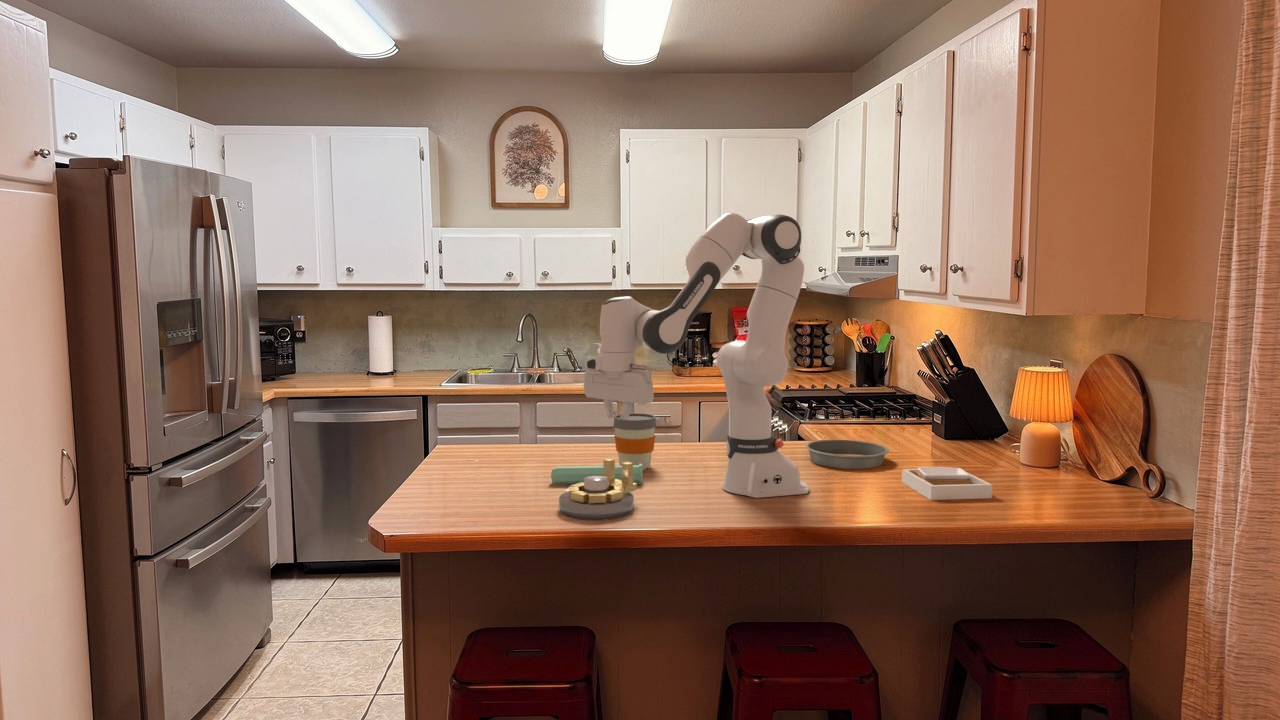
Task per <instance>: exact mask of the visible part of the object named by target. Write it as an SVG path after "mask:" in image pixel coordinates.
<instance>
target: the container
mask: <svg viewBox="0 0 1280 720" xmlns="http://www.w3.org/2000/svg"><path fill="white" fill-rule="evenodd" d="M643 471H644V470H642V464H639V465H633V483H637V485H639V484H644V480H643V478H644V477H643V476H644V475H643ZM550 472H551V473H550V479H551V482H552V483H551V484H553V485H574V484H577V483H581V482H584V478H586V477H589V476H604V465H585V466H584V465H583V466H580V465H579V466H555V467H553V468H552V469H551V471H550ZM615 479H618V480H622V466H620V465H615Z"/></svg>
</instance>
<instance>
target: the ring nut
mask: <svg viewBox="0 0 1280 720" xmlns="http://www.w3.org/2000/svg"><path fill="white" fill-rule="evenodd" d="M603 466H604V476H605V477H608V478H609V492H605V493H587V492H584V482H581V483H577V484H570V486H568V489H569V498H571V500H574V501H578V502H582V503H584V502H588V501H589V503H606V501H609V502H613V501H617V500H620V499H623V497H625V493H628V492H630V493H632V492H635V491H637V490H638V484H637V483H633V463H631V462H624V463H622V480H618V479H615V466H616V459H614V458H605V459H603Z"/></svg>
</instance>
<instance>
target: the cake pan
mask: <svg viewBox="0 0 1280 720" xmlns="http://www.w3.org/2000/svg"><path fill="white" fill-rule="evenodd" d="M805 448H806V449H807V450H808V453H809V457H810V461H811V462H813V463H814V464H817V465H819V466H823V467H829V468H837V469H846V470H851V469H852V470H853V469H854V470H858V469H859V470H861V469H862V470H863V469H871V468H872V469H873V468H876V467H879V466H882V465H883V463H884V459H885V457H886V455H887V454H888V453H889V451H890V450H889V448H888V447H886V446H884V445H882V444H878V443H874V442H870V441H862V440H852V439H821V440H814V441H810V442H808V443H806V445H805ZM845 454H847V455H845ZM849 454H850V455H849Z"/></svg>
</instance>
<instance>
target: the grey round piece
mask: <svg viewBox="0 0 1280 720" xmlns="http://www.w3.org/2000/svg"><path fill="white" fill-rule="evenodd" d="M562 491H563V493H561V494H560V495H559V497H558V510H559V511H558V512H559V513H560V514H561V515H562V516H564V517H567V518H571V519H575V520H584V521H605V520H604V519H608V520H614V519H613V518H615V519H619V517H620V518H622V517H623V518H624V517H626V516H629V515H630V514H632V513H633V512H634V508H635V506H634V505H635V504H634V503H635V499H634V494H633V493H632V492H628V493H625V497H623V499H620V500H617V501H613V502H609V501H606V503H589V501H588V502H584V503H582V502H578V501H574V500H571V498H569V488H566V489H562ZM584 492H587V493H605V492H609V478H608V477H605V476H589V477H586V478H584ZM632 511H633V512H632ZM631 512H632V513H631ZM628 514H629V515H628Z"/></svg>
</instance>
